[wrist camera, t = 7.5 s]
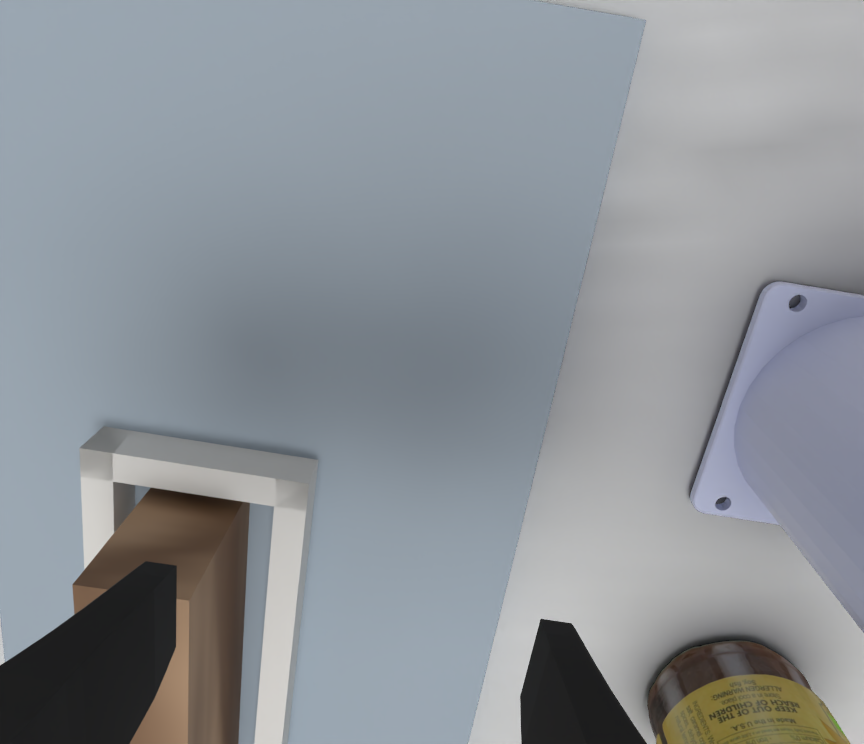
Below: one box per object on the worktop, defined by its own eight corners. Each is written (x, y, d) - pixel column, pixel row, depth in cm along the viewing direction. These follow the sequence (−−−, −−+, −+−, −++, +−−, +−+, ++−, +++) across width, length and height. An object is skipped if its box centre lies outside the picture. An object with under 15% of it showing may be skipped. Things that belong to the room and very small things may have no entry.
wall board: (636, 24, 18) (663, 12, 16) (449, 797, 29) (448, 858, 26) (-44, -95, 17) (-121, -126, 15) (29, 737, 28) (-9, 793, 26)
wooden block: (250, 487, 22) (188, 600, 17) (238, 746, 27) (186, 897, 22) (160, 475, 22) (71, 584, 17) (162, 736, 27) (92, 885, 22)
